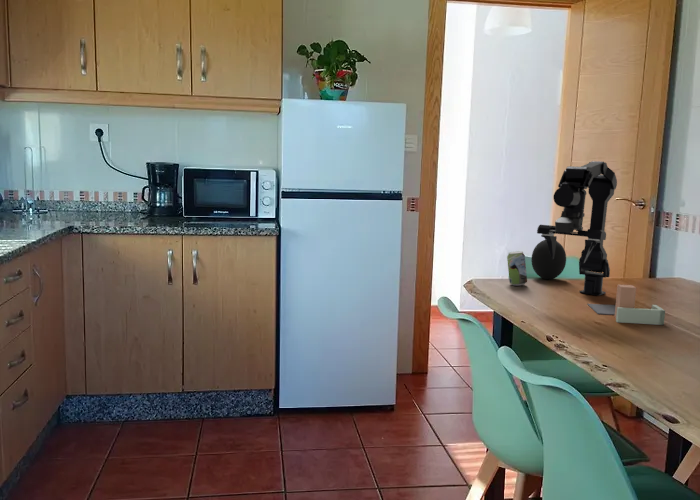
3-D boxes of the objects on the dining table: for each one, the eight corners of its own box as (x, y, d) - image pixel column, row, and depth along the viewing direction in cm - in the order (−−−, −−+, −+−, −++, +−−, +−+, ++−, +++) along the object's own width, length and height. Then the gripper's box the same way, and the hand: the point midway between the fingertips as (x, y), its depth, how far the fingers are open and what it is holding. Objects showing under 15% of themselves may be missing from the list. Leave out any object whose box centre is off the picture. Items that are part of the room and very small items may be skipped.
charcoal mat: (587, 304, 190) (587, 303, 190) (628, 306, 189) (628, 305, 189) (597, 314, 178) (597, 313, 178) (641, 316, 177) (641, 315, 177)
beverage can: (527, 287, 214) (530, 253, 212) (505, 286, 215) (508, 252, 213) (526, 284, 220) (528, 250, 218) (505, 282, 221) (507, 249, 220)
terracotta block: (614, 317, 176) (617, 284, 174) (629, 317, 175) (632, 285, 174) (618, 320, 172) (621, 287, 171) (633, 321, 172) (636, 287, 170)
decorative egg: (530, 280, 226) (533, 240, 224) (529, 274, 238) (532, 236, 236) (565, 283, 223) (568, 242, 221) (563, 277, 235) (566, 238, 233)
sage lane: (610, 316, 177) (611, 302, 176) (654, 318, 175) (656, 304, 174) (617, 322, 170) (618, 308, 169) (663, 324, 168) (665, 310, 168)
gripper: (533, 205, 182) (527, 257, 183) (598, 209, 170) (591, 265, 171) (546, 207, 190) (540, 257, 191) (609, 211, 179) (603, 265, 180)
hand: (567, 261), depth 183 cm, fingers open, 9 cm apart
